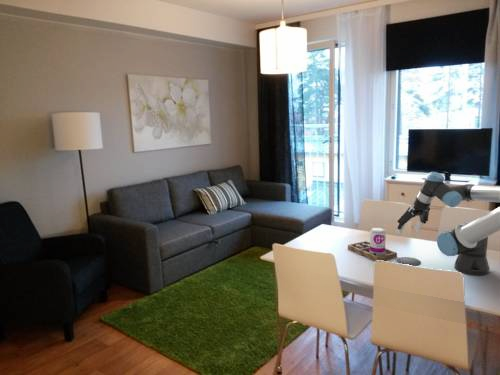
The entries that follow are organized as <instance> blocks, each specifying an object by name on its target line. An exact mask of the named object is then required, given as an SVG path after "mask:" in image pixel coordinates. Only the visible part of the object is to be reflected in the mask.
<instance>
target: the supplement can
mask: <svg viewBox="0 0 500 375" xmlns="http://www.w3.org/2000/svg"><path fill="white" fill-rule="evenodd" d="M369 233H370V234H369V242H370V252H369V253H371V254H373V255H375V256H382V255H386V253H385V248H386V242H387V240H386V238H387V237H386V236H387V232H386V229H385V228H383V227H372V228H371V230H370V231H369Z"/></svg>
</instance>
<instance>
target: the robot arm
mask: <svg viewBox="0 0 500 375" xmlns="http://www.w3.org/2000/svg"><path fill="white" fill-rule="evenodd" d="M444 180H445V176H444V175H443V174H441V173H439V172H437V171H431V172H429V173H428V175H427V176H426V177H425V179H424V182H423V184H422V186H421V188H420V190H419V192H418V193H417V196H416V197H415V200H414V201H413V206H412V207H410V206H409V207H408V208H407V209H406V211H405V212H404V213H403V214H402V215H401V216H400V218H399V219H398V220H397V221H396V222H397V223H398V226H397V227H396V230H395V233H396V234H397V235H398V236H400V235H401V234H402V232H403V230H404V228H405V227H406V224H407V223H408V222H409V221H411V219H413V218H415V217H417V216H419V220H418V221H417V223H415V226H414V228H413V231H415V233H416V234H418V233H419V232H420V230H421V228H422V226H423V225H424V224H426V223H428V221H429V214H430V210H431V208H430V206H431V204H433V201H434V199H435V197H436V198H437V199H439V200H440V201H441V202H442V203H444V205H447V206H448V207H450V208H456V206H459V205H460V204H461V203H462V201H463V202H464V201H472V202H473V201H475V202H476V201H477V202H490V203H491V202H493V203H500V185H483V184H482V185H481V184H474V183H473V184H472V183H469V184H468V183H466V184H463V185H455V186H449V185H447V183H445V182H444ZM498 232H500V206H498V207H497V208H495V209H493V210H490V211H489V212H488V213H486V214H483V215H481V216H480V217H478V218H477V219H475V220H473V221H471V222H463V223H461V224H459V225H457V226H455V227H454V228H450V229H449V230H446V231H445V230H444V231H442V232H439V234H438V235H437V237H436V238H437V239H436V245H437V247H438V250H439V251H440V253H441V254H443V255H444V256H447V257H455V256H457V255H458V256H457V258H456V260H455V261H454V269H455V270H456V271H458V272H461V273H463V274H466V275H471V276H486V275H489V273H490V265H489V262H488V258H487V253H488V252H487V250H488V243H489V242H488V240H489V237H490V236H492V235H494V234H496V233H498Z"/></svg>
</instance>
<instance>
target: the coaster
mask: <svg viewBox="0 0 500 375" xmlns="http://www.w3.org/2000/svg"><path fill="white" fill-rule="evenodd" d="M396 262H397V263H398V264H400V263H402V264H409V265H415V266H414V267H416V266H419V265H421V264H422V261H421V260H420V259H418V258H415V257H410V256H402V257H401V256H400V257H396ZM402 264H401V265H402Z"/></svg>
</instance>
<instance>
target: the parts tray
mask: <svg viewBox="0 0 500 375" xmlns="http://www.w3.org/2000/svg"><path fill="white" fill-rule="evenodd" d="M347 250H349V251H352V252H353V253H356V254H359V255H361V256H363V257H366V258H368V259H370V260H372V261H375V262H377V261H376V260H383V261H386V260H391V259H395V258H398V253H397V252H396V251H393V250H391V249H388V248H386V247H385V255H382V256H375V255H373V254H371V253H370V241H368V240H363V241H360V242H355V243H350V244H347Z"/></svg>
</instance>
